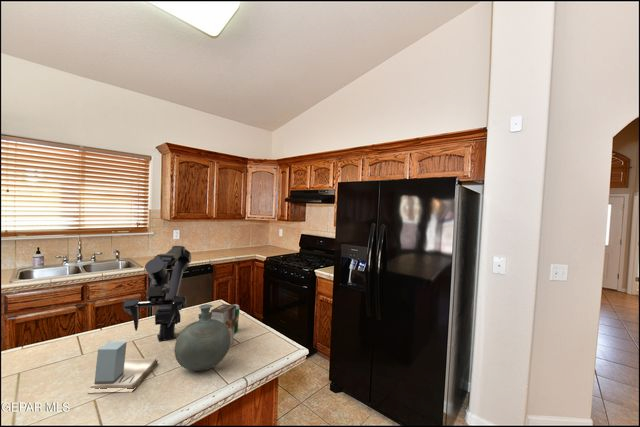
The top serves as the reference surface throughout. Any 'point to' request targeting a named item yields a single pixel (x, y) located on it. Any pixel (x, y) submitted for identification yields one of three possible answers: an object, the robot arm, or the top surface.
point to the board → (131, 374)
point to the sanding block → (110, 362)
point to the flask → (202, 342)
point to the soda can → (236, 318)
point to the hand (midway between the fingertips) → (152, 328)
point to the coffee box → (226, 317)
